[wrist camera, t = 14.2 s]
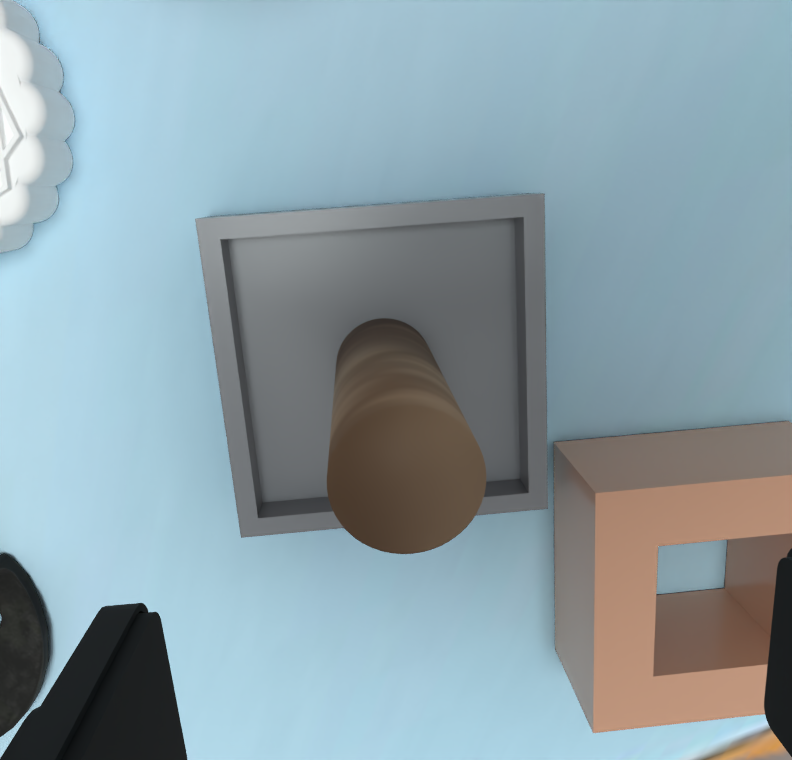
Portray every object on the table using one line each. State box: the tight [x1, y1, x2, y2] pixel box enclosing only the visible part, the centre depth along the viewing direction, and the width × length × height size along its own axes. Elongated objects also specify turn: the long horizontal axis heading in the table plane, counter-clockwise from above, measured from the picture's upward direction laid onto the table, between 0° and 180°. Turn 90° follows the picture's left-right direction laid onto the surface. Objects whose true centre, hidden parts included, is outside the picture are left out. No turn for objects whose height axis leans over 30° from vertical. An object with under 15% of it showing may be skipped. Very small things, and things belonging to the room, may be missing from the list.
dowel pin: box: [327, 318, 486, 554], centre depth 23 cm, size 4×4×12 cm
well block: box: [554, 421, 792, 733], centre depth 30 cm, size 11×11×6 cm
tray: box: [195, 193, 548, 538], centre depth 28 cm, size 13×13×2 cm
